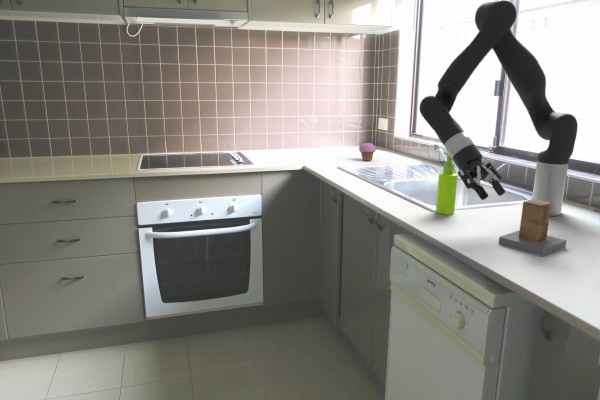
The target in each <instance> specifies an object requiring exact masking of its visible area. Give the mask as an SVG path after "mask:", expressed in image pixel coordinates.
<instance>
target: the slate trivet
mask: <svg viewBox="0 0 600 400" xmlns="http://www.w3.org/2000/svg"><path fill="white" fill-rule="evenodd" d="M519 232H520V229H519V230H516V231H512V232H510V233H507V234H504V235H501V236H499V237H498V238H499V239H498V244H499V245H503V246H506V247H509V248H512V249H514V250H519V251H522V252H525V253H529V254H532V255H535V256H539V257H545V256H548V255H551V254H553V253H555V252H557V251H560V250H562V249H564V248H566V244H567V240H566V239H562V238H559V237H554V236H552V235H547V238H546V239H545V240H543V241H540V242H538V243H536V242H533V241H529V240H525V239H521V238H519Z"/></svg>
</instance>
